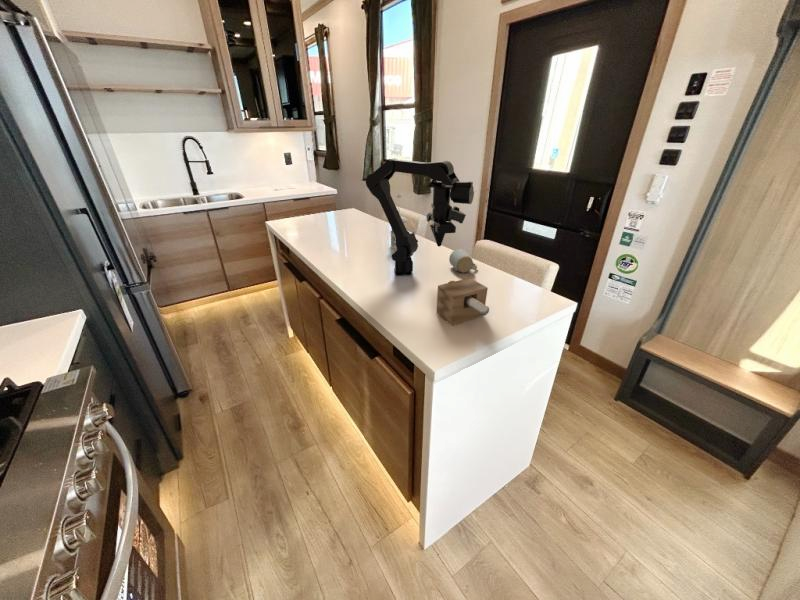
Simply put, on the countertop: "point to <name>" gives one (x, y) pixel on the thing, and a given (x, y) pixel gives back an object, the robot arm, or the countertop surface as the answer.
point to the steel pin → (475, 304)
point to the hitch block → (459, 300)
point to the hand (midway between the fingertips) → (439, 246)
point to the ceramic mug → (461, 261)
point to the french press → (393, 245)
